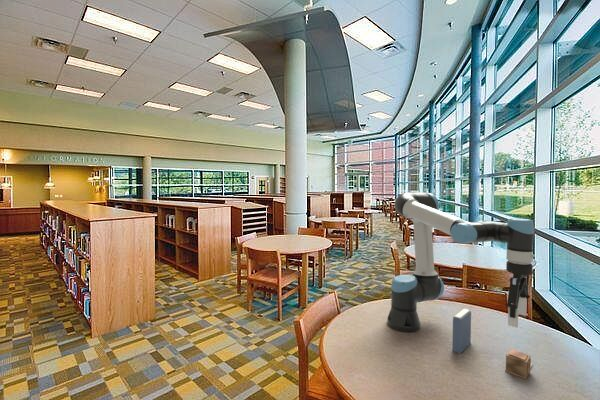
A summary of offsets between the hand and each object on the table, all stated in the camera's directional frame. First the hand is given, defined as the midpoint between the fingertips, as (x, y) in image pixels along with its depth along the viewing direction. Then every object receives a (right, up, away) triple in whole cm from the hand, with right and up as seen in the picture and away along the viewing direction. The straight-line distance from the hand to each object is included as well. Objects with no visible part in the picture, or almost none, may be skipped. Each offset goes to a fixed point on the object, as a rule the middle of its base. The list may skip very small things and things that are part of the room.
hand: (517, 320), depth 105 cm
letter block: (0, -18, 0) cm, 18 cm away
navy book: (-11, -18, +17) cm, 27 cm away
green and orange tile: (0, -19, 0) cm, 19 cm away
